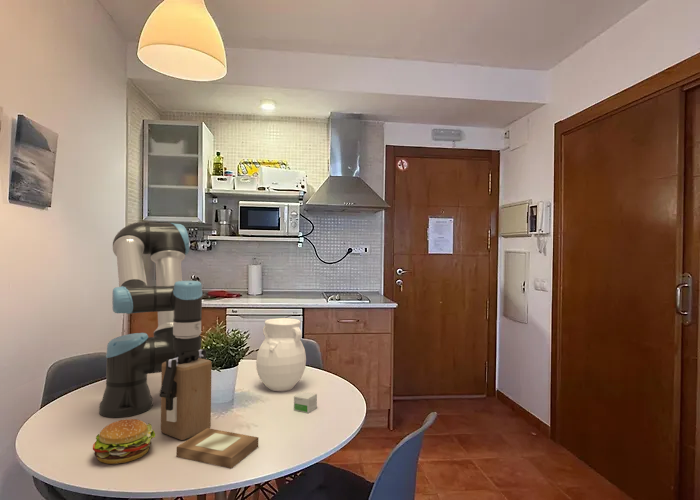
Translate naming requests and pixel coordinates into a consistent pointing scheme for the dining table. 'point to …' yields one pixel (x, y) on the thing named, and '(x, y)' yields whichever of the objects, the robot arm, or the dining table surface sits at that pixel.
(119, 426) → the food
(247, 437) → the board
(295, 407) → the small box
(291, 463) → the dining table surface
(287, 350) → the pitcher
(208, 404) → the wooden block
